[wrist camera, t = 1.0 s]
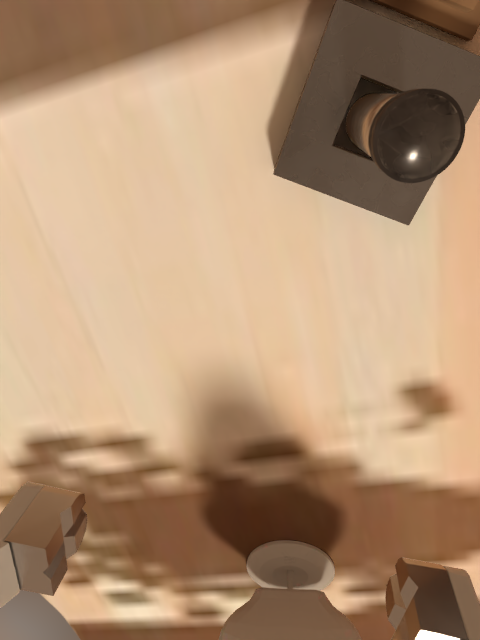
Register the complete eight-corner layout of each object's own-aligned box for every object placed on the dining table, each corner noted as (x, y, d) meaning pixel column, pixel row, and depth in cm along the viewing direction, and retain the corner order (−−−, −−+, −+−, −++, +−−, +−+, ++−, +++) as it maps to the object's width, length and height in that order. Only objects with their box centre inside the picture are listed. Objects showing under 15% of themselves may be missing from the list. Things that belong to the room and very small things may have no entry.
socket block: (274, 169, 36) (273, 174, 33) (334, 4, 30) (337, -3, 28) (401, 217, 36) (408, 225, 34) (484, 66, 31) (498, 64, 28)
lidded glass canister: (334, 139, 34) (358, 166, 22) (358, 81, 32) (400, 74, 20) (383, 158, 34) (434, 195, 22) (410, 102, 32) (483, 107, 20)
